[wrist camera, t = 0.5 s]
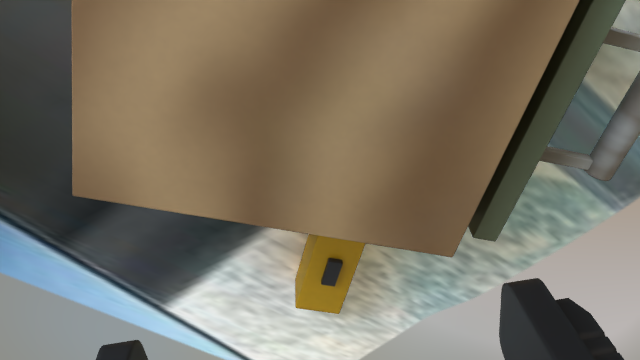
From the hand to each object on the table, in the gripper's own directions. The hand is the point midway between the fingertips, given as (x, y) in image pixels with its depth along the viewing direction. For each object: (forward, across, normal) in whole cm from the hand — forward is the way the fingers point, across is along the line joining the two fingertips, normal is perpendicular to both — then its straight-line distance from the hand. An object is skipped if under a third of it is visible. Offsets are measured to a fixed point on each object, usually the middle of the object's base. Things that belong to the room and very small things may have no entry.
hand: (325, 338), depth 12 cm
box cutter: (+21, -1, +14) cm, 25 cm away
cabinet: (+20, -2, -3) cm, 20 cm away
